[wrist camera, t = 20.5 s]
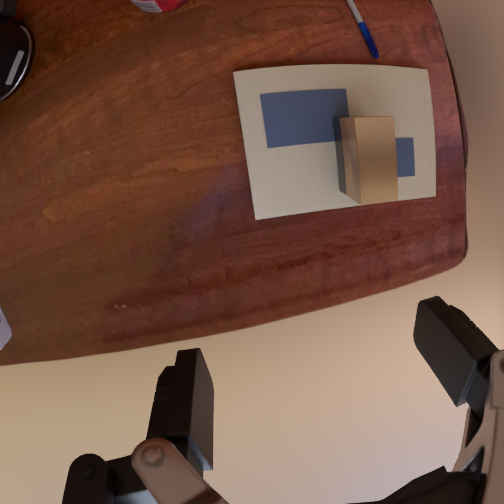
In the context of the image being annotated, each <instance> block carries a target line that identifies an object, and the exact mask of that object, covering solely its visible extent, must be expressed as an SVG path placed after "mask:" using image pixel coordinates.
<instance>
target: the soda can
mask: <svg viewBox="0 0 504 504" xmlns="http://www.w3.org/2000/svg"><path fill="white" fill-rule="evenodd" d="M130 1H131V2H132V3H133V4H135V5H136V6H137V7H139V8H140V9H142V10H144V11H147V12H153V13H161V12H167V11H171V10H174V9H176V8H178V7H180V6H182V5H184V4H185V3H187V2H188V1H189V0H130Z"/></svg>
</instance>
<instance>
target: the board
mask: <svg viewBox="0 0 504 504" xmlns="http://www.w3.org/2000/svg"><path fill="white" fill-rule="evenodd" d="M233 77H234V84H235V90H236V96H237V103H238V109H239V116H240V122H241V129H242V135H243V142H244V148H245V155H246V162H247V168H248V175H249V181H250V188H251V195H252V202H253V208H254V215H255V219H256V220H259V219H265V218H272V217H279V216H285V215H292V214H299V213H306V212H313V211H321V210H328V209H335V208H343V207H350V206H358V205H360V204H359V203H357V202H356V201H354V200H353V199H351V198H350V197H348V196H347V195H345V194H343V193H342V192H340V191H339V179H338V167H337V157H336V147H335V138H334V129H333V121H332V118H342V117H365V116H393V118H394V128H395V140H396V155H397V176H398V200H397V201H399V200H407V199H416V198H425V197H435V196H436V155H435V134H434V120H433V109H432V99H431V91H430V83H429V76H428V70H427V69H418V68H409V67H399V66H385V65H365V64H313V65H293V66H280V67H268V68H259V69H250V70H242V71H235V72H233Z"/></svg>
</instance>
